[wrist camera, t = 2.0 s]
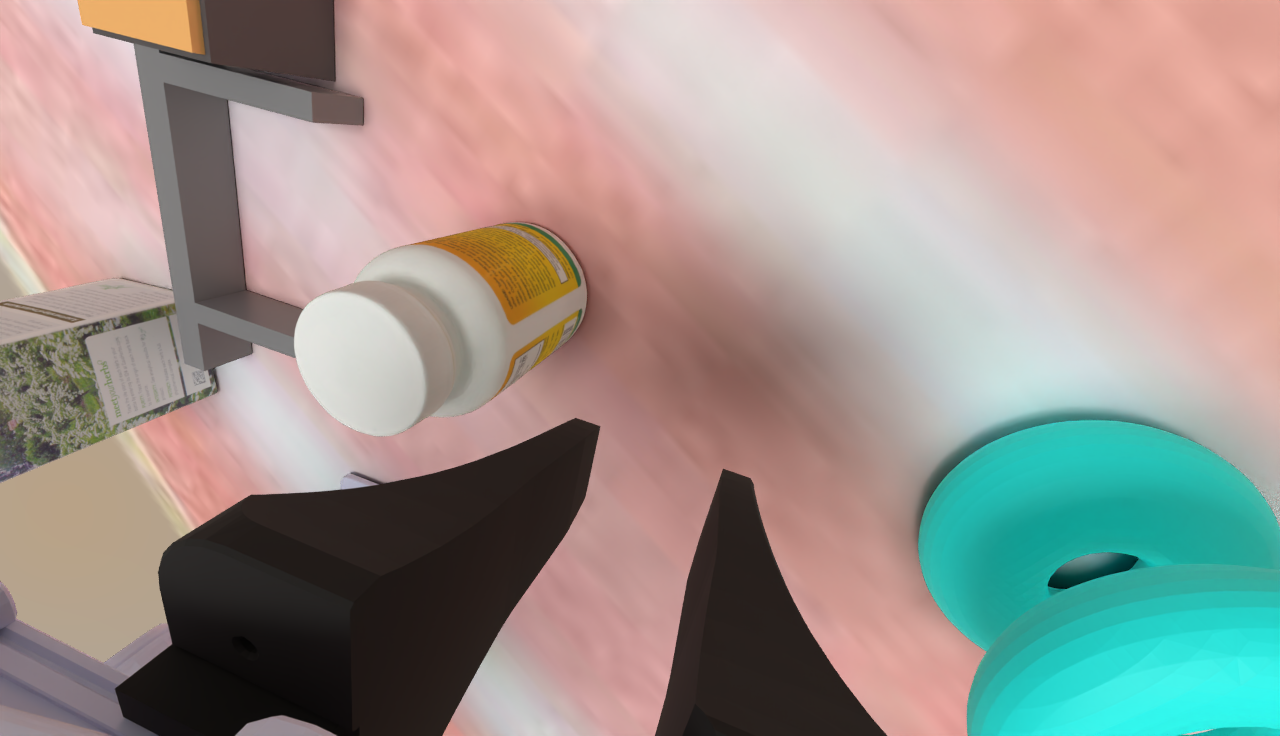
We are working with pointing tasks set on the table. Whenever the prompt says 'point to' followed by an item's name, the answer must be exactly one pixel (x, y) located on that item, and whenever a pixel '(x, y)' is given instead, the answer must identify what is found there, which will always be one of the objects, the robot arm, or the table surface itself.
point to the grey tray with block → (220, 143)
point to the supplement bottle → (439, 326)
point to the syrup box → (88, 369)
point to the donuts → (1109, 584)
